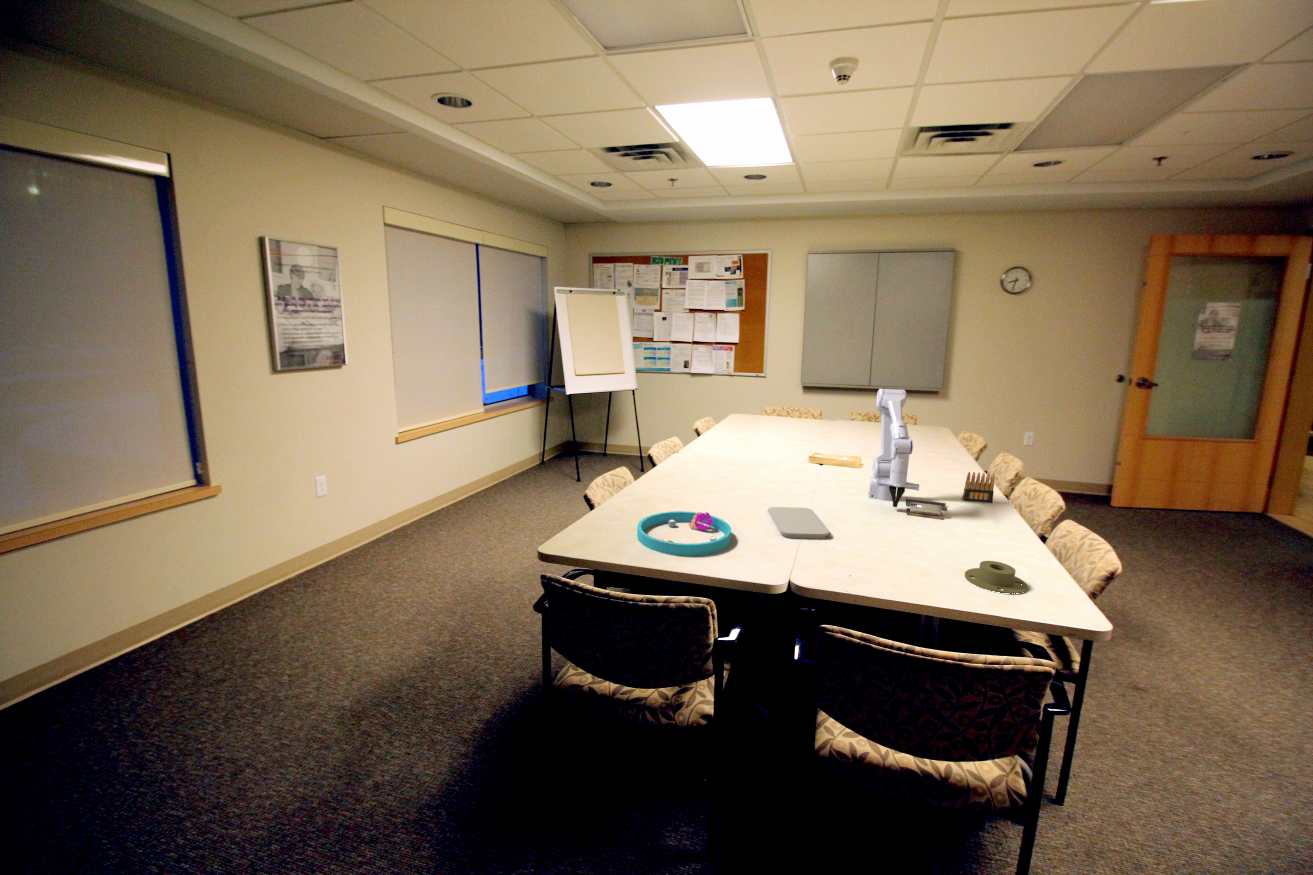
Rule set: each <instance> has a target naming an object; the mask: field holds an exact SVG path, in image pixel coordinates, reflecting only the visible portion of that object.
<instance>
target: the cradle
mask: <svg viewBox="0 0 1313 875" xmlns="http://www.w3.org/2000/svg"><path fill="white" fill-rule="evenodd" d="M911 502H916V503H924V504H932V505H940V506H941V512H947V511H948V507H947V506H946V505H947V503H946V502H942V501H941V502H940V501H931V500H924V499H915V498H906V497H905V506H906V507H907V508H910V503H911Z"/></svg>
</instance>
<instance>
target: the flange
mask: <svg viewBox="0 0 1313 875" xmlns="http://www.w3.org/2000/svg"><path fill="white" fill-rule="evenodd" d="M964 578H965V579H966V581H967V582H968V583H970V584H972V585H973V584H974V586H975V585H976V587H977V586H978V588H979V589H982V588H983V589H982V590H985V589H987V590H986V591H988V590H990V591H989V592H992V591H995V592H994V593H996V592H1000V593H999V594H1001V593H1010V594H1009V595H1017V594H1016V593H1022V592H1025V591H1026V592H1028V584H1027V583H1026V582H1025V581H1024V580H1023V579H1021V578H1020V577H1018V576H1016V569H1015V568H1014V567H1013V566H1011V565H1008V564H1007V563H1003V562H1001V561H994V560H984V561H981V562H980V563H979V567H974V568H973V567H972V568H970V569H967V570H966V571H964ZM1019 583H1020V584H1019ZM1021 584H1022V585H1021ZM1002 589H1003V590H1002ZM1026 592H1025V593H1026ZM1012 593H1013V594H1012ZM1014 593H1015V594H1014ZM1022 594H1023V593H1022Z"/></svg>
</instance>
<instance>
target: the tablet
mask: <svg viewBox="0 0 1313 875" xmlns="http://www.w3.org/2000/svg"><path fill="white" fill-rule="evenodd" d="M767 512H768V515H769V516H770V518H771V520H772V521H773V523H774V525H775V527H776V529H777V530H778V532H779V533H780V535H781V536H782V537H783V538H787V539H819V540H820V539H823V540H824V539H826V538H827V537H828V535H830V531H829V528H827V526H826V525H825V524H824V522H822V520H821V519H820V518H819V517H818V515H817V514H816V513H815V511H814V510H813V509H810V508H808V507H794V506H792V507H791V506H790V507H789V506H788V507H787V506H786V507H784V506H771V507H768V508H767Z"/></svg>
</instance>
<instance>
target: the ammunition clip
mask: <svg viewBox="0 0 1313 875" xmlns="http://www.w3.org/2000/svg"><path fill="white" fill-rule="evenodd" d="M990 477H991V478H990ZM994 489H995V473H992V474H991V476H990V473H989V472H988V473H987V474H986V473H985V472H983V473H982V475H981V472H978V473H977V475H976V472H973V473H972V476H971V472H970V471H968V473H967V475H966V481H965V484H964V488H963V492H962V498H961V499H962V501H963V502H971V503H984V504H986V503H988V504H993V501H994V493H995V491H994Z"/></svg>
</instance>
